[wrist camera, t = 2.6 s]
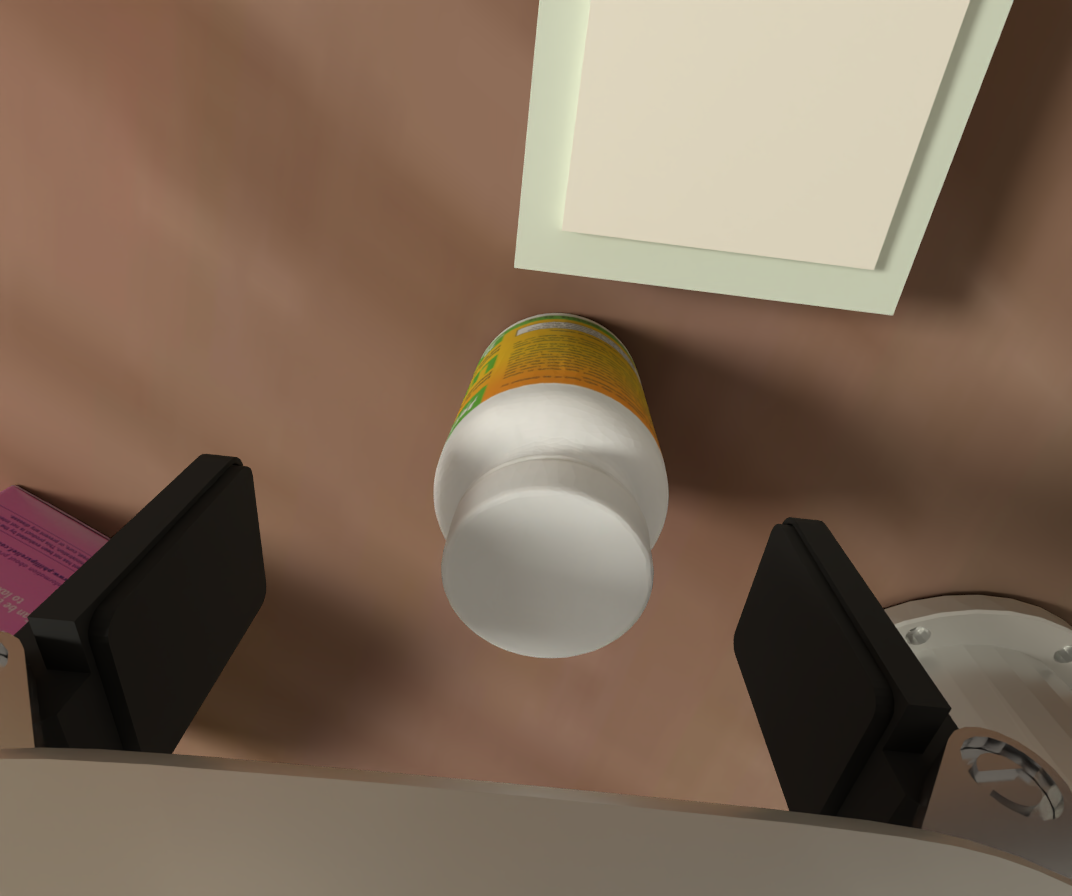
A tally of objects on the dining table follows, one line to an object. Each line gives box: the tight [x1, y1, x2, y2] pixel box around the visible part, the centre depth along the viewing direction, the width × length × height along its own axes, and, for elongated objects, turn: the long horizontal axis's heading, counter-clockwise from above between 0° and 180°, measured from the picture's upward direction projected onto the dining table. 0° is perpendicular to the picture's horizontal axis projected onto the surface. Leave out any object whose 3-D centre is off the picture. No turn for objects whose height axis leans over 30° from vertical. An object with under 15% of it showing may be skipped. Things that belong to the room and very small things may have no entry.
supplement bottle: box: [434, 313, 669, 658], centre depth 16 cm, size 5×5×10 cm
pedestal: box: [514, 0, 1013, 315], centre depth 14 cm, size 9×9×4 cm
